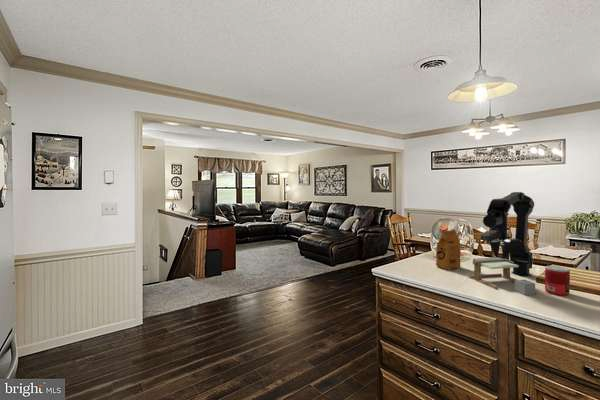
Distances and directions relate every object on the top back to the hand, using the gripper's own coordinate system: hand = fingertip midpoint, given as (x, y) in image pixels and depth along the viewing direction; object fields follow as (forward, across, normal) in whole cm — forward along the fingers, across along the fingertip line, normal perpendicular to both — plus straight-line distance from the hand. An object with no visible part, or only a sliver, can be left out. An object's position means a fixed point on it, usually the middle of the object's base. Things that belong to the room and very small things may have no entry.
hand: (500, 257), depth 139 cm
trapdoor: (+5, -3, 0) cm, 6 cm away
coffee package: (+13, -30, -7) cm, 33 cm away
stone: (+12, +14, 0) cm, 18 cm away
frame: (+12, -1, 0) cm, 12 cm away
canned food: (+13, +16, +13) cm, 24 cm away
